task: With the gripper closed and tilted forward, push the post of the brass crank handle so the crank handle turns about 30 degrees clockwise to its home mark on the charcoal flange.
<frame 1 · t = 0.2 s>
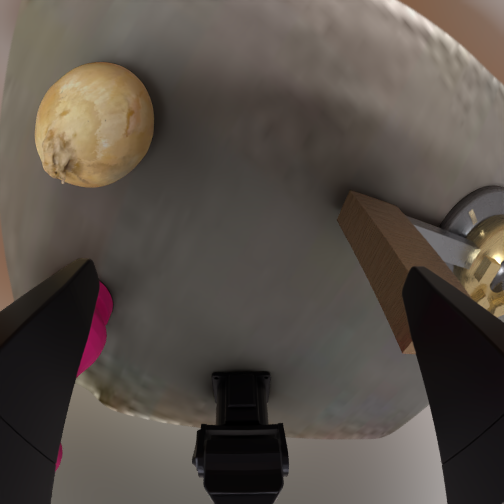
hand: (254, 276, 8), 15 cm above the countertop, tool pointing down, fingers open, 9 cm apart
pepper mill: (84, 294, 28), on the countertop
onion: (111, 116, 19), on the countertop
crank handle: (486, 284, 18), point 8 cm above the countertop, hinge at 30.0°
flange: (479, 246, 26), on the countertop
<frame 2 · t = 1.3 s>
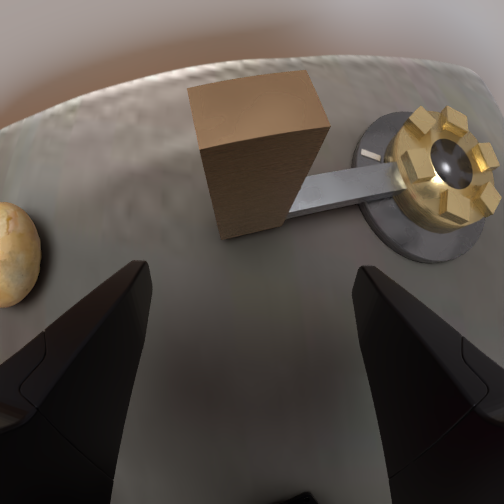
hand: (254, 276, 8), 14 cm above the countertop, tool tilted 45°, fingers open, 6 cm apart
onion: (21, 260, 22), on the countertop
crank handle: (404, 153, 16), point 8 cm above the countertop, hinge at 30.0°
flange: (421, 186, 24), on the countertop
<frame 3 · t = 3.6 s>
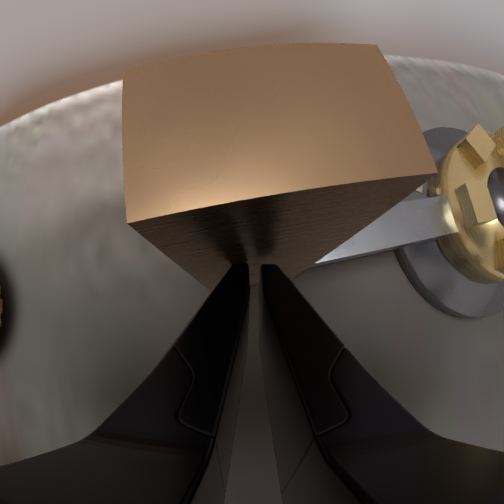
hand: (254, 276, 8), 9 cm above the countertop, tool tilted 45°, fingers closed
crank handle: (472, 191, 10), point 8 cm above the countertop, hinge at 27.8°, touching gripper
flange: (465, 221, 18), on the countertop
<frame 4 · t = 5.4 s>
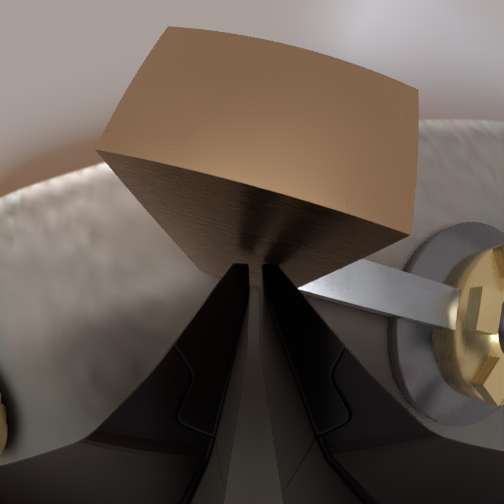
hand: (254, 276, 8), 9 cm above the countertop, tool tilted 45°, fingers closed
crank handle: (482, 295, 10), point 8 cm above the countertop, hinge at 0.3°, touching gripper
flange: (469, 324, 17), on the countertop
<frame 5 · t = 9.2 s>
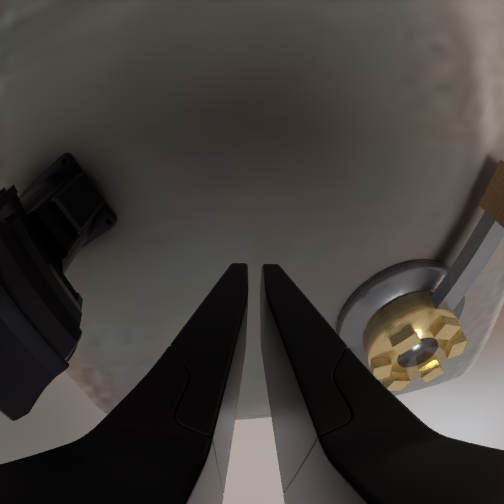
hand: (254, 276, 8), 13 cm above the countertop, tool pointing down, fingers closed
crank handle: (477, 328, 18), point 8 cm above the countertop, hinge at 0.3°
flange: (401, 314, 28), on the countertop
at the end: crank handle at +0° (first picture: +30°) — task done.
